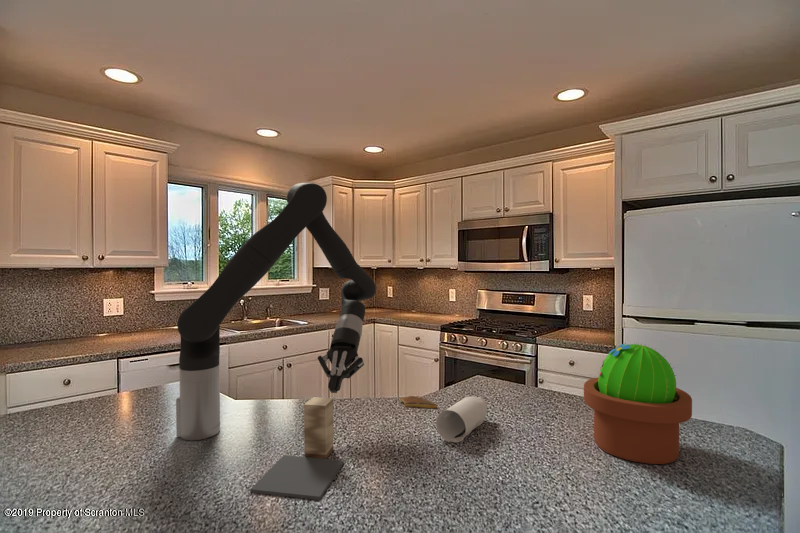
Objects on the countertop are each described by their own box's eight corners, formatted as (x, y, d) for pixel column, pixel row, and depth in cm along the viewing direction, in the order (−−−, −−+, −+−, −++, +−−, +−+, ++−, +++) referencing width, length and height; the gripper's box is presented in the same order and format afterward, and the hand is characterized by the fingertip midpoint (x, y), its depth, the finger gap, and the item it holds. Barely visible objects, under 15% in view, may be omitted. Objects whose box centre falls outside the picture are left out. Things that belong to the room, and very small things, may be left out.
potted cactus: (684, 438, 103) (685, 337, 102) (698, 481, 83) (700, 356, 83) (587, 422, 113) (587, 330, 112) (579, 456, 94) (580, 345, 93)
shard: (438, 409, 124) (438, 403, 124) (417, 415, 120) (417, 409, 120) (416, 399, 133) (417, 394, 133) (396, 404, 129) (396, 398, 129)
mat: (250, 492, 80) (250, 489, 80) (283, 457, 93) (283, 455, 93) (319, 499, 77) (319, 496, 77) (343, 463, 91) (343, 460, 91)
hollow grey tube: (495, 422, 114) (495, 393, 114) (464, 447, 98) (465, 414, 98) (468, 415, 118) (468, 387, 118) (435, 439, 103) (435, 407, 103)
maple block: (304, 457, 93) (304, 404, 93) (313, 447, 98) (312, 397, 98) (325, 459, 93) (325, 405, 92) (333, 449, 97) (333, 398, 97)
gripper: (321, 325, 115) (304, 382, 103) (367, 326, 113) (355, 385, 101) (328, 341, 120) (312, 397, 109) (372, 342, 118) (361, 400, 106)
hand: (333, 391), depth 105 cm, fingers closed
